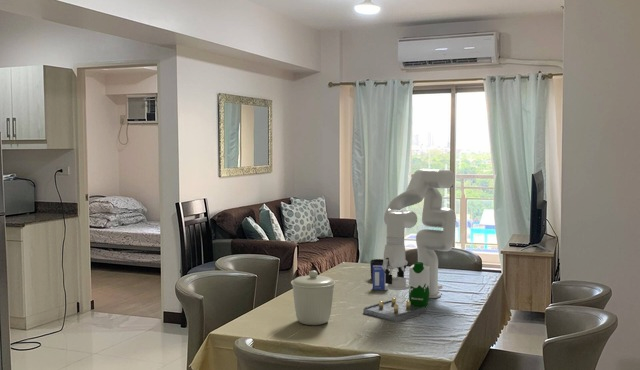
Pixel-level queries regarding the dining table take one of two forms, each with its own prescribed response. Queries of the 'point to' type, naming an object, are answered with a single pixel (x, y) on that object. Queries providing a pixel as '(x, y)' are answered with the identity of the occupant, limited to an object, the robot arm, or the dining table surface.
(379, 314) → the plate
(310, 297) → the canister
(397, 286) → the mechanical component
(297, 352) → the dining table surface
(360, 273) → the dining table surface
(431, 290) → the robot arm
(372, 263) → the pen holder
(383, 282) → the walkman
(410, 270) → the milk carton
